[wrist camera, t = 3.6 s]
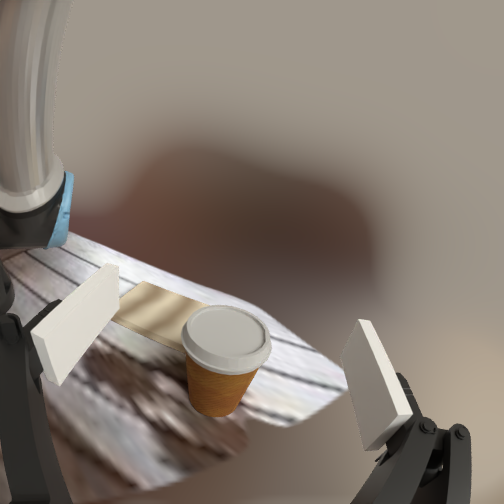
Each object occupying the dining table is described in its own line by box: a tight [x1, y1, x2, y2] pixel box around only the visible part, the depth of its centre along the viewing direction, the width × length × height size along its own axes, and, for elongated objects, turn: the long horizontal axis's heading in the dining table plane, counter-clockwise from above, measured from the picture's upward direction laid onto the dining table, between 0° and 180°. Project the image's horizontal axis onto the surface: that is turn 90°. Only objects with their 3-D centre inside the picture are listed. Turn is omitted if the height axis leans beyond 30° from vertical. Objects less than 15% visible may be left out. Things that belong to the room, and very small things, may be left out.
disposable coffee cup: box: [181, 305, 272, 417], centre depth 30 cm, size 10×10×12 cm
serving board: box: [110, 281, 210, 353], centre depth 44 cm, size 19×12×2 cm, turn 76°
